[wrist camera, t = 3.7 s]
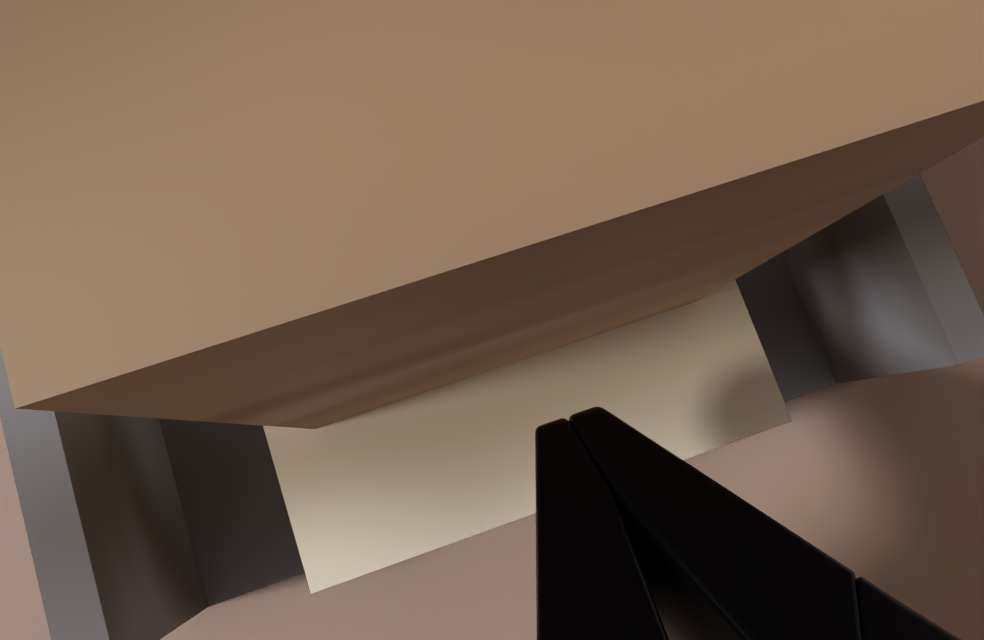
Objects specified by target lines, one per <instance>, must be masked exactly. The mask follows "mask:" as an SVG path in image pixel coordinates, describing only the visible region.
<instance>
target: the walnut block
mask: <svg viewBox="0 0 984 640" xmlns="http://www.w3.org/2000/svg"><path fill="white" fill-rule="evenodd" d="M983 136H984V0H0V347H1V351H2V355H3V359H4V364H5V368H6V372H7V377H8V381H9V385H10V389H11V394H12V398H13V402H14V407H15V409H27V410H42V411H57V412H71V413H86V414H101V415H115V416H130V417H145V418H159V419H174V420H188V421H203V422H218V423H232V424H247V425H262V426H276V427H291V428H306V429H317V428H320V427H323V426H326V425H329V424H332V423H335V422H338V421H341V420H344V419H347V418H350V417H353V416H356V415H359V414H362V413H365V412H368V411H371V410H374V409H377V408H380V407H383V406H386V405H389V404H392V403H395V402H397V401H400V400H403V399H406V398H409V397H412V396H415V395H418V394H421V393H424V392H427V391H430V390H433V389H436V388H439V387H442V386H445V385H448V384H451V383H454V382H457V381H460V380H463V379H466V378H469V377H472V376H475V375H478V374H481V373H484V372H487V371H490V370H493V369H496V368H499V367H502V366H505V365H508V364H511V363H514V362H517V361H520V360H523V359H526V358H529V357H532V356H535V355H538V354H541V353H544V352H547V351H550V350H553V349H556V348H559V347H562V346H565V345H568V344H571V343H574V342H577V341H579V340H582V339H585V338H588V337H591V336H594V335H597V334H600V333H603V332H606V331H609V330H612V329H615V328H618V327H621V326H624V325H627V324H630V323H633V322H636V321H639V320H642V319H645V318H648V317H651V316H654V315H657V314H660V313H663V312H666V311H669V310H672V309H675V308H678V307H681V306H684V305H687V304H690V303H693V302H696V301H698V300H700V299H702V298H703V297H705V296H707V295H709V294H710V293H712V292H714V291H716V290H717V289H719V288H721V287H723V286H724V285H726V284H728V283H730V282H731V281H733V280H735V279H736V278H738V277H740V276H742V275H743V274H745V273H747V272H749V271H750V270H752V269H754V268H756V267H757V266H759V265H761V264H763V263H764V262H766V261H768V260H769V259H771V258H773V257H775V256H776V255H778V254H780V253H782V252H783V251H785V250H787V249H789V248H790V247H792V246H794V245H796V244H797V243H799V242H801V241H803V240H804V239H806V238H808V237H809V236H811V235H813V234H815V233H816V232H818V231H820V230H822V229H823V228H825V227H827V226H829V225H830V224H832V223H834V222H836V221H837V220H839V219H841V218H843V217H844V216H846V215H848V214H849V213H851V212H853V211H855V210H856V209H858V208H860V207H862V206H863V205H865V204H867V203H869V202H870V201H872V200H874V199H876V198H877V197H879V196H881V195H882V194H884V193H886V192H888V191H889V190H891V189H893V188H895V187H896V186H898V185H900V184H902V183H903V182H905V181H907V180H909V179H910V178H912V177H914V176H916V175H917V174H919V173H921V172H922V171H924V170H926V169H928V168H929V167H931V166H933V165H935V164H936V163H938V162H940V161H942V160H943V159H945V158H947V157H949V156H950V155H952V154H954V153H956V152H957V151H959V150H961V149H962V148H964V147H966V146H968V145H969V144H971V143H973V142H975V141H976V140H978V139H980V138H982V137H983Z"/></svg>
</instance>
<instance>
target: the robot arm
mask: <svg viewBox="0 0 984 640" xmlns="http://www.w3.org/2000/svg"><path fill="white" fill-rule="evenodd" d="M535 479H536V594H537V640H961V639H959V638H957V637H955V636H954V635H952V634H950V633H949V632H947V631H946V630H944V629H942V628H941V627H939V626H938V625H936V624H934V623H933V622H931V621H930V620H928V619H926V618H925V617H923V616H922V615H920V614H918V613H917V612H915V611H914V610H912V609H910V608H909V607H907V606H906V605H904V604H902V603H901V602H899V601H897V600H896V599H894V598H893V597H891V596H890V595H888V594H887V593H885V592H884V591H882V590H881V589H879V588H878V587H876V586H875V585H873V584H872V583H870V582H869V581H867V580H866V579H864V578H862V577H858V578H857V579H856V578H855V574H854V572H853V571H851V570H850V569H848V568H847V567H845V566H844V565H842V564H841V563H839V562H838V561H836V560H835V559H833V558H832V557H830V556H828V555H827V554H825V553H824V552H822V551H821V550H819V549H818V548H816V547H815V546H813V545H812V544H810V543H809V542H807V541H806V540H804V539H802V538H801V537H799V536H798V535H796V534H795V533H793V532H792V531H790V530H789V529H787V528H786V527H784V526H783V525H781V524H780V523H778V522H777V521H775V520H773V519H772V518H770V517H769V516H767V515H766V514H764V513H763V512H761V511H760V510H758V509H757V508H755V507H754V506H752V505H751V504H749V503H747V502H746V501H744V500H743V499H741V498H740V497H738V496H737V495H735V494H734V493H732V492H731V491H729V490H728V489H726V488H725V487H723V486H722V485H720V484H718V483H717V482H715V481H714V480H712V479H711V478H709V477H708V476H706V475H705V474H703V473H702V472H700V471H699V470H697V469H696V468H694V467H692V466H691V465H689V464H688V463H686V462H685V461H683V460H682V459H680V458H679V457H677V456H676V455H674V454H673V453H671V452H670V451H668V450H667V449H665V448H663V447H662V446H660V445H659V444H657V443H656V442H654V441H653V440H651V439H650V438H648V437H647V436H645V435H644V434H642V433H641V432H639V431H637V430H636V429H634V428H633V427H631V426H630V425H628V424H627V423H625V422H624V421H622V420H621V419H619V418H618V417H616V416H615V415H613V414H612V413H610V412H608V411H607V410H605V409H604V408H602V407H592V408H589V409H587V410H584V411H581V412H578V413H575V414H572V415H571V416H570V417H569V420H567V419H565V418H561V419H558V420H555V421H552V422H549V423H546V424H543V425H540V426H538V427H537V428H536V431H535Z"/></svg>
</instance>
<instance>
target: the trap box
mask: <svg viewBox="0 0 984 640" xmlns="http://www.w3.org/2000/svg"><path fill="white" fill-rule="evenodd" d="M983 356H984V314H983V312H982V310H981V308H980V305H979V303H978V301H977V299H976V297H975V294H974V292H973V290H972V288H971V286H970V283H969V281H968V279H967V277H966V275H965V272H964V270H963V268H962V266H961V264H960V261H959V259H958V257H957V255H956V253H955V250H954V248H953V246H952V244H951V242H950V239H949V237H948V235H947V233H946V231H945V228H944V226H943V224H942V222H941V220H940V217H939V215H938V213H937V211H936V209H935V206H934V204H933V202H932V200H931V198H930V195H929V193H928V191H927V189H926V187H925V184H924V182H923V180H922V178H921V176H920V173H919V174H917V175H916V176H914V177H912V178H910V179H909V180H907V181H905V182H903V183H902V184H900V185H898V186H896V187H895V188H893V189H891V190H889V191H888V192H886V193H884V194H882V195H881V196H879V197H877V198H876V199H874V200H872V201H870V202H869V203H867V204H865V205H863V206H862V207H860V208H858V209H856V210H855V211H853V212H851V213H849V214H848V215H846V216H844V217H843V218H841V219H839V220H837V221H836V222H834V223H832V224H830V225H829V226H827V227H825V228H823V229H822V230H820V231H818V232H816V233H815V234H813V235H811V236H809V237H808V238H806V239H804V240H803V241H801V242H799V243H797V244H796V245H794V246H792V247H790V248H789V249H787V250H785V251H783V252H782V253H780V254H778V255H776V256H775V257H773V258H771V259H769V260H768V261H766V262H764V263H763V264H761V265H759V266H757V267H756V268H754V269H752V270H750V271H749V272H747V273H745V274H743V275H742V276H740V277H738V278H736V279H735V280H733V281H731V282H730V283H728V284H726V285H724V286H723V287H721V288H719V289H717V290H716V291H714V292H712V293H710V294H709V295H707V296H705V297H703V298H702V299H700V300H698V301H696V302H693V303H690V304H687V305H684V306H681V307H678V308H675V309H672V310H669V311H666V312H663V313H660V314H657V315H654V316H651V317H648V318H645V319H642V320H639V321H636V322H633V323H630V324H627V325H624V326H621V327H618V328H615V329H612V330H609V331H606V332H603V333H600V334H597V335H594V336H591V337H588V338H585V339H582V340H579V341H577V342H574V343H571V344H568V345H565V346H562V347H559V348H556V349H553V350H550V351H547V352H544V353H541V354H538V355H535V356H532V357H529V358H526V359H523V360H520V361H517V362H514V363H511V364H508V365H505V366H502V367H499V368H496V369H493V370H490V371H487V372H484V373H481V374H478V375H475V376H472V377H469V378H466V379H463V380H460V381H457V382H454V383H451V384H448V385H445V386H442V387H439V388H436V389H433V390H430V391H427V392H424V393H421V394H418V395H415V396H412V397H409V398H406V399H403V400H400V401H397V402H395V403H392V404H389V405H386V406H383V407H380V408H377V409H374V410H371V411H368V412H365V413H362V414H359V415H356V416H353V417H350V418H347V419H344V420H341V421H338V422H335V423H332V424H329V425H326V426H323V427H320V428H317V429H306V428H291V427H276V426H262V425H247V424H232V423H218V422H203V421H188V420H174V419H159V418H145V417H130V416H115V415H101V414H86V413H71V412H57V411H42V410H27V409H15V407H14V402H13V398H12V394H11V389H10V385H9V381H8V377H7V372H6V368H5V364H4V359H3V355H2V351H1V347H0V417H1V422H2V426H3V431H4V435H5V439H6V444H7V448H8V452H9V457H10V461H11V465H12V470H13V474H14V478H15V483H16V487H17V492H18V496H19V500H20V505H21V509H22V513H23V518H24V522H25V526H26V531H27V535H28V540H29V544H30V548H31V553H32V557H33V561H34V566H35V570H36V574H37V579H38V583H39V588H40V592H41V596H42V601H43V605H44V609H45V614H46V618H47V622H48V627H49V631H50V635H51V640H160V639H161V638H163V637H164V636H165V635H167V634H168V633H170V632H171V631H173V630H174V629H176V628H177V627H179V626H180V625H182V624H183V623H185V622H186V621H188V620H189V619H191V618H192V617H194V616H195V615H197V614H198V613H200V612H201V611H203V610H204V609H206V608H207V607H209V606H212V605H214V604H217V603H220V602H223V601H226V600H228V599H231V598H234V597H237V596H240V595H243V594H245V593H248V592H251V591H254V590H257V589H259V588H262V587H265V586H268V585H271V584H273V583H276V582H279V581H282V580H285V579H287V578H290V577H293V576H296V575H299V574H302V573H304V572H305V574H306V578H307V581H308V585H309V588H310V592H311V594H312V593H315V592H317V591H320V590H323V589H326V588H329V587H331V586H334V585H337V584H340V583H342V582H345V581H348V580H351V579H354V578H356V577H359V576H362V575H365V574H367V573H370V572H373V571H376V570H379V569H381V568H384V567H387V566H390V565H392V564H395V563H398V562H401V561H404V560H406V559H409V558H412V557H415V556H418V555H420V554H423V553H426V552H429V551H431V550H434V549H437V548H440V547H443V546H445V545H448V544H451V543H454V542H456V541H459V540H462V539H465V538H468V537H470V536H473V535H476V534H479V533H482V532H484V531H487V530H490V529H493V528H495V527H498V526H501V525H504V524H507V523H509V522H512V521H515V520H518V519H520V518H523V517H526V516H529V515H532V514H534V513H536V479H535V431H536V428H537V427H538V426H540V425H543V424H546V423H549V422H552V421H555V420H558V419H561V418H565V419H567V420H569V417H570V416H571V415H572V414H575V413H578V412H581V411H584V410H587V409H589V408H592V407H602V408H604V409H605V410H607V411H608V412H610V413H612V414H613V415H615V416H616V417H618V418H619V419H621V420H622V421H624V422H625V423H627V424H628V425H630V426H631V427H633V428H634V429H636V430H637V431H639V432H641V433H642V434H644V435H645V436H647V437H648V438H650V439H651V440H653V441H654V442H656V443H657V444H659V445H660V446H662V447H663V448H665V449H667V450H668V451H670V452H671V453H673V454H674V455H676V456H677V457H679V458H680V459H682V460H685V459H687V458H690V457H693V456H696V455H699V454H701V453H704V452H707V451H710V450H712V449H715V448H718V447H721V446H724V445H726V444H729V443H732V442H735V441H737V440H740V439H743V438H746V437H749V436H751V435H754V434H757V433H760V432H763V431H765V430H768V429H771V428H774V427H776V426H779V425H782V424H785V423H788V422H790V421H792V420H791V417H790V415H789V412H788V410H787V407H786V405H785V401H788V400H790V399H793V398H796V397H799V396H802V395H804V394H807V393H810V392H813V391H816V390H818V389H821V388H824V387H827V386H830V385H833V384H835V383H841V382H848V381H854V380H861V379H868V378H875V377H882V376H888V375H895V374H902V373H909V372H916V371H922V370H929V369H936V368H943V367H950V366H956V365H961V364H964V363H966V362H969V361H972V360H975V359H977V358H980V357H983Z"/></svg>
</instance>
